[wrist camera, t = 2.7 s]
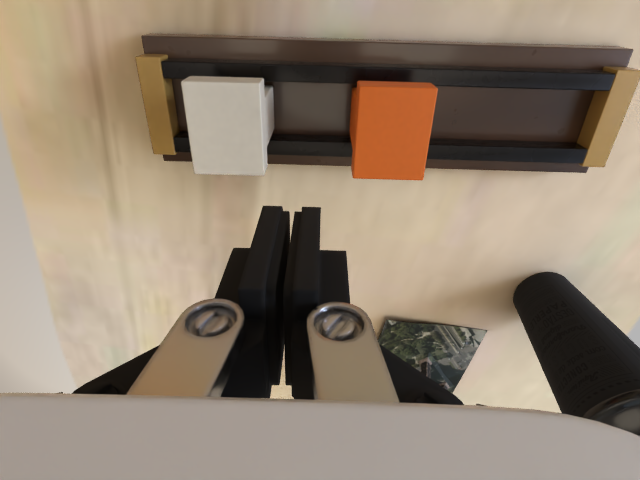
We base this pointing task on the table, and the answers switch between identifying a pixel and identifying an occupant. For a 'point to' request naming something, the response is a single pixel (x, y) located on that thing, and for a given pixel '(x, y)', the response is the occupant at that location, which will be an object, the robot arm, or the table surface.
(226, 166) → the white boxy piece
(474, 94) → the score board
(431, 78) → the rails
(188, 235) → the table surface
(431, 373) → the eiffel tower figurine
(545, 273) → the drinking cup
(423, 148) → the orange rectangular block
